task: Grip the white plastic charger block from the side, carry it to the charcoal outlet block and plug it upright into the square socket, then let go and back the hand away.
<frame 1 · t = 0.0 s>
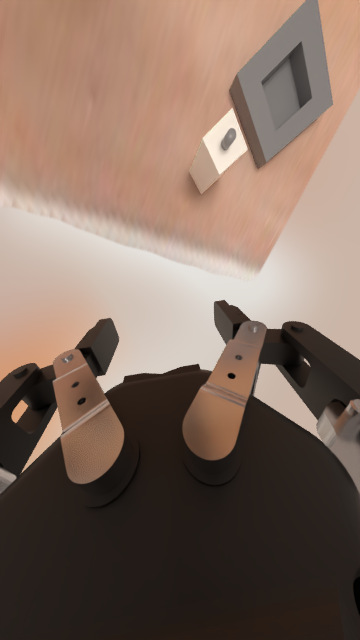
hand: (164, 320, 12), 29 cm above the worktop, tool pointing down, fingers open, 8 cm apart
outlet block: (275, 103, 27), on the worktop
charger: (204, 174, 31), on the worktop
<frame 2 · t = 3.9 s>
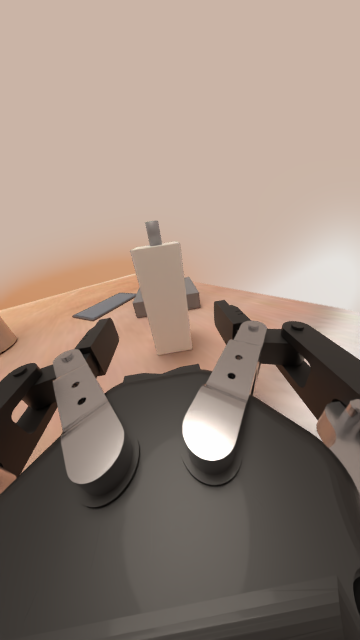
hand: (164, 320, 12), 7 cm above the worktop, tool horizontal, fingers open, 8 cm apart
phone: (110, 307, 38), on the worktop
outlet block: (167, 301, 35), on the worktop
charger: (174, 341, 21), on the worktop
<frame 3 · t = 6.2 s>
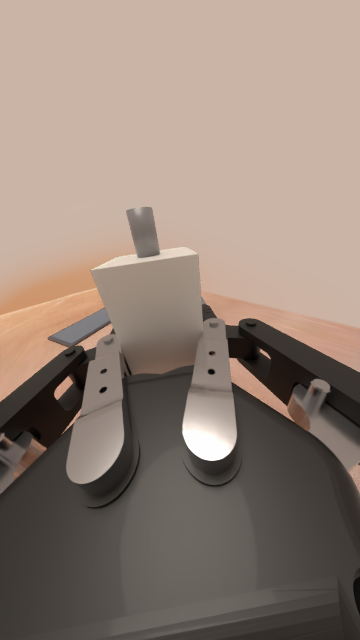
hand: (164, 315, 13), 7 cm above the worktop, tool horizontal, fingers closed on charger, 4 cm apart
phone: (97, 324, 31), on the worktop
charger: (179, 397, 14), on the worktop, touching gripper
when the fingers open (9 cm above the worktop, at t = 11.4 s): charger drops 1 cm, resting on outlet block.
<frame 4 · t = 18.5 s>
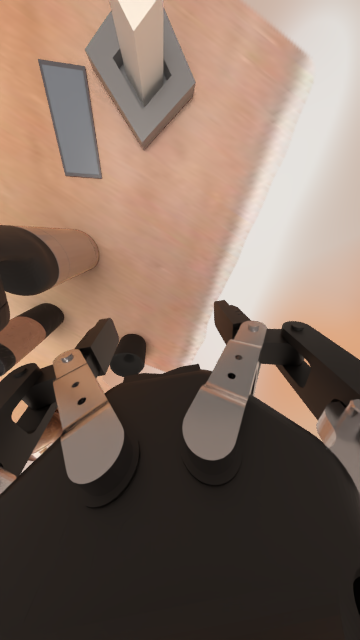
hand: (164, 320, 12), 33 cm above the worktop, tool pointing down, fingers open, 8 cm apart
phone: (76, 129, 29), on the worktop
travel mug: (50, 314, 46), on the worktop
outlet block: (144, 82, 27), on the worktop
charger: (145, 79, 27), resting on outlet block
pen holder: (133, 343, 53), on the worktop
wooden sphere: (57, 414, 67), on the worktop
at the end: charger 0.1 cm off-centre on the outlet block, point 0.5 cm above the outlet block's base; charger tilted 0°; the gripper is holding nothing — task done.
